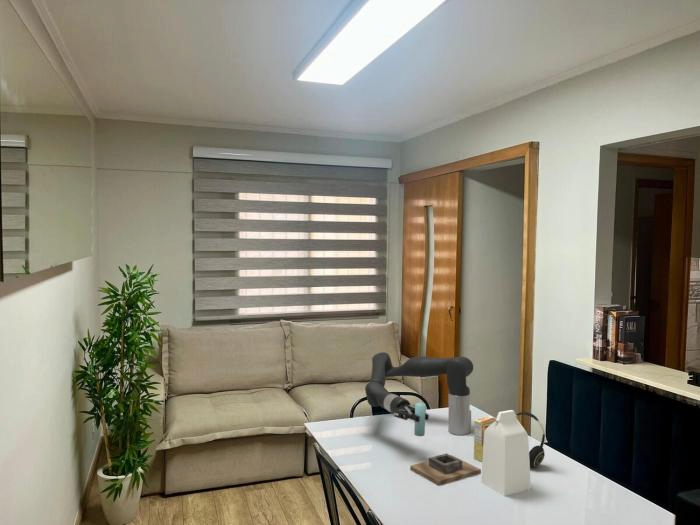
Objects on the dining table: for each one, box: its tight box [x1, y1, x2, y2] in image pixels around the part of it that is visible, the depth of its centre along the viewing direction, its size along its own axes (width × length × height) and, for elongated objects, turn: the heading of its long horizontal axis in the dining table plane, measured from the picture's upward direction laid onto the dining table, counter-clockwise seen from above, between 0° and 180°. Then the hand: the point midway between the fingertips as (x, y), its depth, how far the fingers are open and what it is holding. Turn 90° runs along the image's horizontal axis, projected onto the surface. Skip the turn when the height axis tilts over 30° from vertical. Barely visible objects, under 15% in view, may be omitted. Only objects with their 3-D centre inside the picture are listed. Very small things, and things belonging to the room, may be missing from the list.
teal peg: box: [413, 402, 427, 437], centre depth 217 cm, size 4×4×12 cm
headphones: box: [515, 411, 546, 468], centre depth 212 cm, size 9×15×20 cm, turn 39°
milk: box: [480, 409, 532, 497], centre depth 193 cm, size 12×12×26 cm
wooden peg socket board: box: [409, 453, 482, 486], centre depth 205 cm, size 20×16×4 cm
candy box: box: [473, 416, 496, 463], centre depth 218 cm, size 9×4×15 cm, turn 129°
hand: (423, 418), depth 216 cm, fingers closed on teal peg, 4 cm apart
